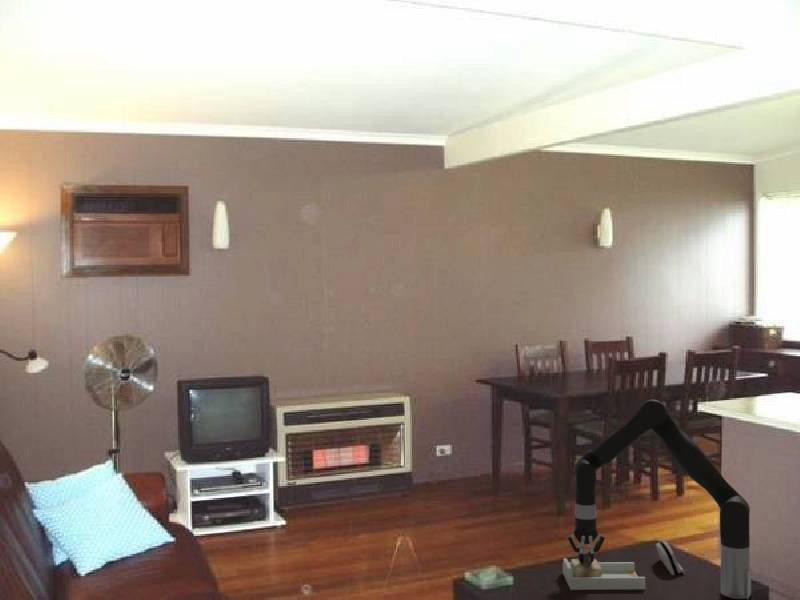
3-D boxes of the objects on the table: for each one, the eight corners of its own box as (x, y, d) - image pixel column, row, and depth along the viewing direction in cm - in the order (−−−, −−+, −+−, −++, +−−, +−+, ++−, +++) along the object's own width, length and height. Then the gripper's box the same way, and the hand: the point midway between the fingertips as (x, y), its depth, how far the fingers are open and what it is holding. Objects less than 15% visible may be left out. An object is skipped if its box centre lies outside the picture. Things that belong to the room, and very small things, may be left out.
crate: (595, 572, 304) (595, 548, 304) (601, 582, 294) (601, 557, 294) (571, 572, 304) (570, 548, 304) (576, 582, 294) (575, 557, 294)
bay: (633, 572, 307) (633, 556, 307) (645, 589, 291) (645, 572, 291) (562, 573, 307) (562, 557, 307) (570, 589, 292) (570, 572, 291)
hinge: (685, 575, 304) (676, 549, 303) (673, 579, 304) (663, 553, 304) (674, 559, 320) (665, 535, 320) (662, 563, 321) (653, 539, 320)
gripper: (602, 512, 302) (603, 559, 303) (564, 512, 302) (564, 559, 303) (607, 518, 295) (607, 566, 295) (567, 518, 295) (568, 567, 296)
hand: (586, 563), depth 299 cm, fingers closed on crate, 2 cm apart
